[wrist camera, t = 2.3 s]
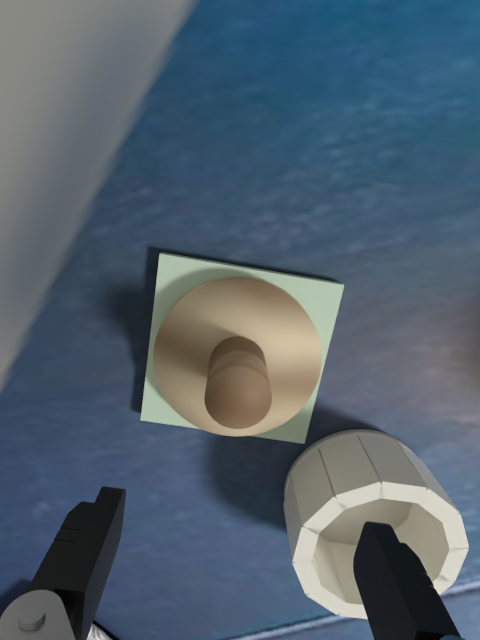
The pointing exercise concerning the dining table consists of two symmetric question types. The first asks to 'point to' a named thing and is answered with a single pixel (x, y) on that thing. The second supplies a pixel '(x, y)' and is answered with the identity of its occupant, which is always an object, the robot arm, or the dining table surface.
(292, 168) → the dining table surface
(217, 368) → the lid
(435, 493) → the bowl
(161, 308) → the mat
